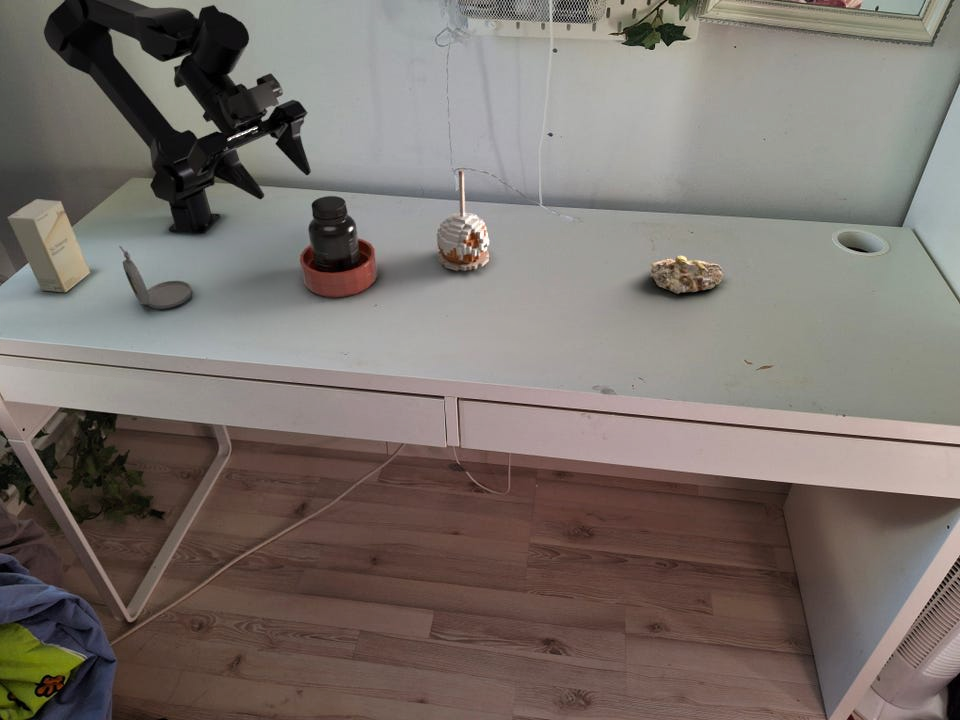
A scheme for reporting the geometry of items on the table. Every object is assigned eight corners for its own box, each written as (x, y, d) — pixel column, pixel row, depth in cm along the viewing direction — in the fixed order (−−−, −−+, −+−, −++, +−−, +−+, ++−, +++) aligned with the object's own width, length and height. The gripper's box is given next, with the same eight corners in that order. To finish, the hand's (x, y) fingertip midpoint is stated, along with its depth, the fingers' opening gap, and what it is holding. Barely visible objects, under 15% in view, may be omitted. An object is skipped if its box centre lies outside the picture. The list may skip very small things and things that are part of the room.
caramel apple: (473, 278, 108) (471, 186, 99) (429, 265, 111) (423, 175, 102) (497, 255, 114) (497, 165, 104) (455, 244, 117) (452, 155, 107)
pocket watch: (202, 290, 107) (183, 230, 100) (165, 321, 100) (143, 259, 94) (157, 281, 109) (136, 222, 103) (118, 311, 103) (94, 250, 96)
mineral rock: (655, 283, 102) (651, 242, 107) (649, 302, 106) (646, 263, 110) (731, 287, 102) (724, 246, 106) (722, 307, 105) (716, 266, 110)
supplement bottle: (348, 259, 112) (338, 188, 105) (370, 277, 108) (361, 204, 100) (309, 273, 109) (295, 201, 101) (330, 293, 105) (317, 219, 97)
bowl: (319, 257, 114) (315, 234, 111) (385, 263, 112) (383, 239, 110) (293, 295, 105) (288, 271, 103) (365, 301, 104) (362, 277, 101)
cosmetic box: (66, 294, 106) (33, 220, 99) (39, 291, 107) (5, 217, 100) (92, 272, 111) (62, 200, 104) (66, 269, 112) (35, 197, 104)
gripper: (177, 78, 89) (257, 182, 91) (287, 41, 101) (354, 134, 103) (156, 127, 98) (229, 221, 100) (259, 87, 109) (322, 172, 112)
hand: (286, 185), depth 103 cm, fingers open, 9 cm apart
